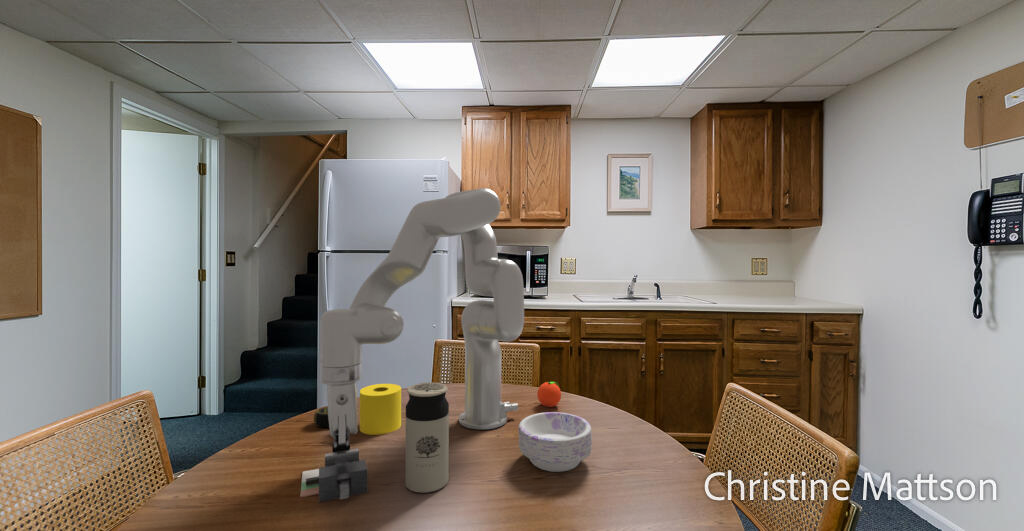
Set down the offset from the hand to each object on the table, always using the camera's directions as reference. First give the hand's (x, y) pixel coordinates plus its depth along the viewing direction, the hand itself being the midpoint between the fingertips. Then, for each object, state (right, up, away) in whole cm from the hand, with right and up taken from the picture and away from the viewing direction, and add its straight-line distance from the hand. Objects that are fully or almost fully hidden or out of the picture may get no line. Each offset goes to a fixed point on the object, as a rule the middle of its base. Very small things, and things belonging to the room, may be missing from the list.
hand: (341, 464), depth 83 cm
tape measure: (-13, -2, +25) cm, 28 cm away
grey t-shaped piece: (+2, -1, -8) cm, 8 cm away
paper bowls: (+43, -2, +5) cm, 43 cm away
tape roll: (+1, -2, +23) cm, 23 cm away
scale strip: (-4, -2, -4) cm, 6 cm away
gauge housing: (+3, -2, -7) cm, 8 cm away
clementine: (+45, -2, +39) cm, 60 cm away
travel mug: (+18, -2, -4) cm, 18 cm away
